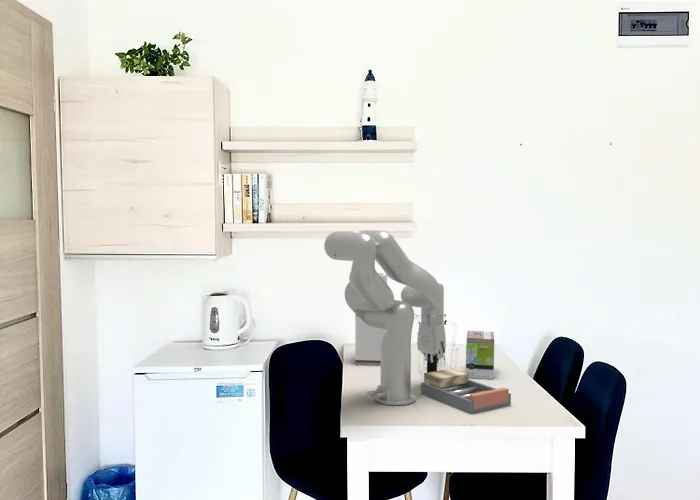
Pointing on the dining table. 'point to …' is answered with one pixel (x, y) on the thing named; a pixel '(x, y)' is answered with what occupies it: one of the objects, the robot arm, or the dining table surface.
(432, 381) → the oak slab
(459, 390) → the rollers
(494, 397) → the end stop
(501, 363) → the dining table surface
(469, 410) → the roller track
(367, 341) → the tall white box
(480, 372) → the tea box
